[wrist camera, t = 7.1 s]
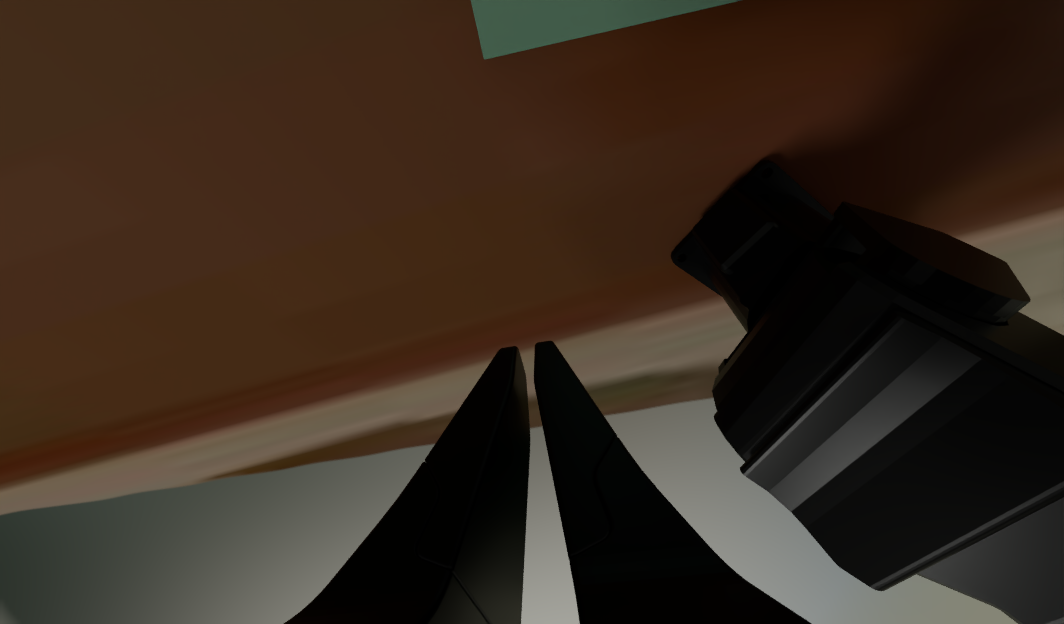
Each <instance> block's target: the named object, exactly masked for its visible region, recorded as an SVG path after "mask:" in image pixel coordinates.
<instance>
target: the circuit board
mask: <svg viewBox="0 0 1064 624" xmlns="http://www.w3.org/2000/svg"><path fill="white" fill-rule="evenodd" d="M736 1H741V0H471V3H472V7H473V12H474V16H475V21H476V25H477V30H478V34H479V39H480V43H481V48H482V52H483V56H484V59H489V58H493V57H497V56H502V55H506V54H510V53H515V52H519V51H523V50H528V49H532V48H536V47H541V46H545V45H549V44H554V43H558V42H562V41H567V40H571V39H576V38H580V37H584V36H589V35H593V34H597V33H602V32H606V31H610V30H615V29H619V28H623V27H628V26H632V25H636V24H641V23H645V22H649V21H654V20H658V19H662V18H667V17H671V16H675V15H680V14H684V13H688V12H693V11H697V10H702V9H706V8H710V7H715V6H719V5H723V4H728V3H732V2H736Z"/></svg>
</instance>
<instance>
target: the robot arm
mask: <svg viewBox="0 0 1064 624" xmlns="http://www.w3.org/2000/svg"><path fill="white" fill-rule="evenodd" d="M766 168H769V171H768V172H767V174H765V175H763V176H762V172H763V170H765V169H766ZM681 254H685V255H684V257H682V258H680V259H678V256H679V255H681ZM671 259H672V261H673V263H674V264H675V265H676V266H678V267H679V268H681V269H682V270H684V271H685V272H687V273H688V274H690V275H691V276H693V277H694V278H695V279H697V280H698V281H700V282H701V283H703V284H704V285H706V286H707V287H709V288H710V289H711V290H713V291H714V292H716V293H717V294H719V295H720V296H722V297H723V298H724V300H725V301H726V303H727V304H728V306H729V307H730V309H731V310H732V311H733V313H734V314H735V316H736V317H737V319H738V320H739V321H740V323H741V324H742V326H743V327H744V329H745V330H746V331H747V334H746V335H745V336H744V338H743V339H742V340H741V342H740V343H739V344H738V346H737V347H736V348H735V350H734V351H733V352H732V353H731V355H730V356H729V357H728V359H724V360H723V362H722V363H721V364H720V366H719V367H718V369H719V374H718V376H717V377H716V378H715V382H714V385H713V389H712V393H713V397H714V401H715V406H716V409H717V412H716V414H715V415H714V419H715V422H716V424H717V426H718V427H719V429H720V431H721V432H722V434H723V435H724V437H725V439H726V440H727V441H728V442H729V443H730V445H731V446H732V447H733V448H734V449H735V451H736V452H737V453H738V454H739V456H740V457H741V458H742V459H743V460H744V461H745V463H744V464H743V465H742V466H741V467H740V470H741V472H742V474H743V475H745V476H746V477H747V478H749V479H750V480H752V481H753V482H755V483H756V484H758V485H759V486H761V487H762V488H764V489H765V490H767V491H768V492H769V493H770V494H772V495H773V496H774V497H775V498H776V499H777V500H778V501H779V502H781V503H782V504H783V505H784V506H785V507H786V508H787V509H788V510H790V511H791V512H792V513H793V515H795V517H796V518H797V519H798V520H799V521H800V522H801V523H802V524H803V525H804V527H805V528H806V529H807V530H808V531H809V532H810V533H811V535H812V536H813V537H814V538H815V539H816V541H817V542H818V543H819V544H820V545H821V547H822V548H823V549H824V550H825V551H826V553H827V554H828V555H829V556H830V557H831V558H832V560H833V561H834V562H835V563H836V564H837V565H838V566H839V567H841V568H842V569H843V570H845V571H846V572H848V573H849V574H851V575H852V576H854V577H855V578H857V579H859V580H860V581H862V582H863V583H865V584H866V585H868V586H869V587H871V588H873V589H875V590H878V591H884V590H887V589H889V588H890V587H892V586H894V585H896V584H898V583H900V582H902V581H904V580H906V579H908V578H910V577H912V576H913V575H915V574H917V575H919V576H922V577H924V578H927V579H929V580H932V581H934V582H936V583H939V584H941V585H943V586H946V587H948V588H951V589H953V590H955V591H958V592H960V593H963V594H965V595H967V596H970V597H972V598H975V599H977V600H979V601H982V602H984V603H987V604H989V605H991V606H993V607H995V608H997V609H999V610H1001V611H1002V612H1004V613H1005V614H1006V615H1008V616H1009V617H1010V618H1011V619H1013V620H1014V621H1016V622H1017V623H1018V624H1064V335H1062V334H1060V333H1058V332H1056V331H1054V330H1052V329H1050V328H1048V327H1047V326H1045V325H1043V324H1041V323H1039V322H1037V321H1035V320H1033V319H1031V318H1029V317H1027V316H1026V315H1024V314H1022V313H1020V312H1018V311H1019V310H1020V309H1022V308H1023V307H1024V306H1025V305H1026V304H1028V303H1029V302H1030V297H1029V296H1028V294H1027V293H1026V291H1025V290H1024V288H1023V287H1022V285H1021V284H1020V282H1019V281H1018V279H1017V278H1016V276H1015V275H1014V273H1013V271H1012V270H1011V268H1010V267H1009V265H1008V264H1007V263H1006V262H1005V261H1003V260H1001V259H999V258H997V257H995V256H993V255H990V254H988V253H986V252H984V251H982V250H980V249H978V248H975V247H973V246H971V245H969V244H967V243H965V242H963V241H960V240H958V239H956V238H954V237H952V236H950V235H948V234H945V233H943V232H940V231H937V230H934V229H931V228H927V227H924V226H921V225H918V224H914V223H911V222H908V221H905V220H902V219H898V218H895V217H892V216H889V215H885V214H882V213H879V212H876V211H872V210H869V209H866V208H863V207H859V206H856V205H853V204H850V203H847V202H842V203H841V205H840V206H839V207H838V209H837V210H836V211H835V213H834V214H833V216H832V215H831V214H830V213H829V212H828V211H827V210H826V209H825V208H824V207H823V206H821V205H820V204H819V203H818V202H817V201H816V200H815V199H814V198H813V197H812V196H810V195H809V194H808V193H807V192H806V191H805V190H804V189H803V188H802V187H801V186H799V185H798V184H797V183H796V182H795V181H794V180H793V179H792V178H791V177H790V176H789V175H787V174H786V173H785V172H784V171H783V170H782V169H781V168H780V167H779V166H778V165H776V164H775V163H773V162H771V161H769V160H764V161H761V162H760V163H758V164H757V165H756V166H755V167H754V168H753V169H752V170H751V171H750V172H749V173H748V174H747V175H746V176H745V177H744V178H743V179H742V180H741V181H740V182H739V183H738V184H737V185H736V186H735V187H734V188H733V190H730V191H728V192H727V193H726V194H725V195H724V196H723V197H722V198H721V199H720V200H719V201H718V202H717V203H716V205H715V206H714V207H713V208H712V209H711V210H710V211H709V212H708V213H707V214H706V215H705V216H704V217H703V218H702V219H701V220H700V221H699V222H698V223H697V224H696V225H695V226H694V227H693V231H692V232H691V233H690V234H689V235H688V236H687V237H686V238H685V239H684V240H683V241H682V242H681V243H680V244H679V245H678V246H677V247H676V248H675V249H674V250H673V251H672V253H671ZM534 384H535V390H536V395H537V400H538V405H539V410H540V415H541V420H542V426H543V430H544V435H545V441H546V446H547V450H548V456H549V461H550V466H551V471H552V476H553V481H554V486H555V491H556V496H557V501H558V507H559V512H560V517H561V521H562V527H563V532H564V537H565V542H566V547H567V552H568V557H569V560H570V567H571V572H572V578H573V583H574V589H575V594H576V601H577V607H578V614H579V621H580V624H811V623H810V622H808V621H807V620H805V619H804V618H802V617H801V616H799V615H797V614H796V613H795V612H793V611H791V610H790V609H788V608H787V607H785V606H784V605H782V604H781V603H779V602H778V601H776V600H775V599H773V598H772V597H770V596H769V595H767V594H766V593H764V592H763V591H761V590H760V589H758V588H757V587H755V586H754V585H752V584H751V583H749V582H748V581H746V580H745V579H744V578H742V577H741V576H740V575H739V574H737V573H736V572H735V571H734V570H733V569H732V568H731V567H729V566H728V565H727V564H726V563H725V562H724V561H723V560H722V559H721V558H720V557H719V556H718V555H717V554H716V553H715V552H714V551H713V550H712V549H711V548H710V547H709V546H708V544H707V543H706V542H705V541H704V540H703V539H702V538H701V537H700V536H699V534H698V533H697V532H696V531H695V530H694V529H693V528H692V527H691V526H690V525H689V523H688V522H687V521H686V520H685V519H684V518H683V517H682V516H681V514H680V513H679V512H678V511H677V510H676V509H675V508H674V507H673V506H672V504H671V503H670V502H669V501H668V500H667V499H666V498H665V497H664V496H663V495H662V493H661V492H660V491H659V490H658V489H657V488H656V486H655V485H654V484H653V483H652V482H651V480H650V479H649V478H648V477H647V476H646V474H645V473H644V472H643V471H642V470H641V468H640V467H639V465H638V464H637V463H636V461H635V460H634V459H633V457H632V456H631V455H630V453H629V452H628V450H627V449H626V448H625V446H624V445H623V443H622V442H621V440H620V439H619V438H618V437H617V435H616V433H615V432H614V430H613V429H612V427H611V426H610V425H609V423H608V422H607V420H606V419H605V417H604V416H603V414H602V413H601V411H600V410H599V408H598V407H597V405H596V404H595V402H594V401H593V399H592V398H591V397H590V395H589V394H588V392H587V391H586V389H585V388H584V386H583V385H582V383H581V382H580V380H579V379H578V377H577V376H576V374H575V373H574V372H573V370H572V369H571V367H570V366H569V364H568V363H567V361H566V360H565V358H564V357H563V355H562V354H561V352H560V351H559V350H558V348H557V347H556V345H555V344H554V342H553V341H545V342H538V343H536V344H535V358H534ZM529 457H530V423H529V410H528V396H527V382H526V374H525V370H524V366H523V363H522V359H521V356H520V352H519V349H518V348H517V347H516V346H512V347H506V348H501V349H500V350H499V351H498V352H497V354H496V355H495V357H494V358H493V360H492V361H491V363H490V364H489V366H488V367H487V368H486V370H485V371H484V373H483V374H482V376H481V377H480V379H479V380H478V382H477V383H476V385H475V386H474V388H473V389H472V391H471V392H470V394H469V395H468V397H467V398H466V399H465V401H464V402H463V404H462V405H461V407H460V408H459V410H458V411H457V413H456V414H455V416H454V417H453V419H452V420H451V422H450V423H449V425H448V426H447V428H446V429H445V430H444V432H443V433H442V435H441V436H440V438H439V439H438V441H437V442H436V444H435V445H434V447H433V448H432V450H431V451H430V453H429V454H428V456H427V457H426V459H425V462H423V463H422V464H421V466H420V467H419V469H418V470H417V472H416V473H415V475H414V476H413V477H412V479H411V480H410V482H409V483H408V484H407V486H406V487H405V489H404V490H403V492H402V493H401V494H400V496H399V497H398V498H397V500H396V501H395V502H394V504H393V505H392V506H391V507H390V509H389V510H388V511H387V512H386V514H385V515H384V516H383V518H382V519H381V520H380V521H379V523H378V524H377V525H376V526H375V528H374V529H373V530H372V531H371V532H370V534H369V535H368V536H367V537H366V539H365V540H364V541H363V542H362V543H361V545H360V546H359V547H358V548H357V550H356V551H355V552H354V553H353V555H352V556H351V557H350V558H349V559H348V560H347V562H346V563H345V564H344V565H343V567H342V568H341V569H340V570H339V571H338V573H337V574H336V575H335V576H334V578H333V579H332V580H331V581H330V582H329V584H328V585H327V586H326V587H325V588H324V589H323V590H322V592H321V593H320V594H319V595H318V596H317V597H316V598H315V599H314V600H313V601H312V602H311V603H310V604H308V605H307V606H306V607H305V608H304V609H303V610H302V611H300V612H299V613H298V614H297V615H295V616H294V617H293V618H291V619H290V620H288V621H287V622H285V623H284V624H521V611H522V592H523V573H524V554H525V535H526V516H527V514H526V513H527V497H528V477H529Z"/></svg>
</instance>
